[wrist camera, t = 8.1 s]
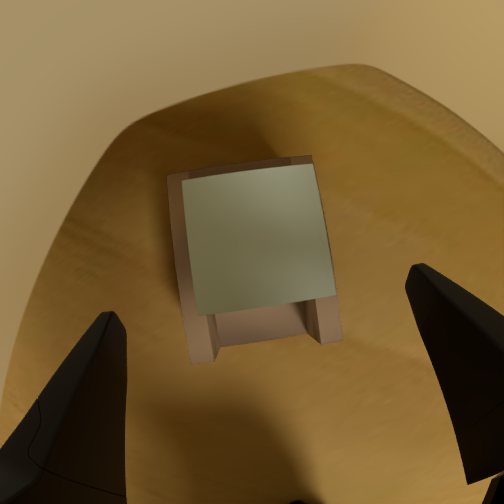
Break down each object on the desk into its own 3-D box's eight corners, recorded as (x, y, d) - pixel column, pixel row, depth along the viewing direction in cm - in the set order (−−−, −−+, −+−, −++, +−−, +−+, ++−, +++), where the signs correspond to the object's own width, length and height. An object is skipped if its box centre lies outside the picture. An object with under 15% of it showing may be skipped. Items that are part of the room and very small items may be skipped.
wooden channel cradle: (321, 326, 19) (344, 339, 14) (203, 345, 19) (190, 364, 14) (297, 182, 20) (312, 154, 15) (183, 199, 20) (165, 175, 15)
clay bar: (288, 288, 18) (336, 294, 8) (224, 297, 18) (198, 315, 8) (278, 225, 19) (312, 163, 9) (215, 233, 19) (181, 180, 9)
